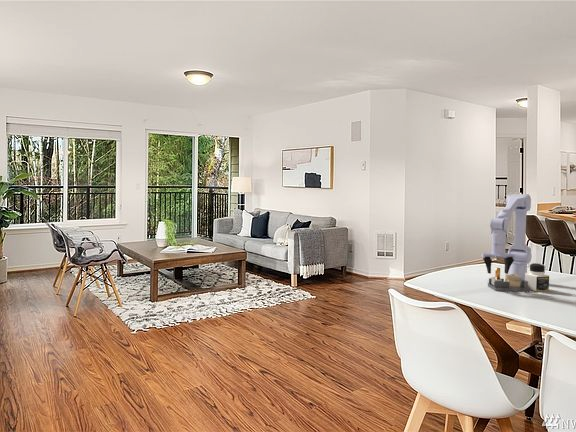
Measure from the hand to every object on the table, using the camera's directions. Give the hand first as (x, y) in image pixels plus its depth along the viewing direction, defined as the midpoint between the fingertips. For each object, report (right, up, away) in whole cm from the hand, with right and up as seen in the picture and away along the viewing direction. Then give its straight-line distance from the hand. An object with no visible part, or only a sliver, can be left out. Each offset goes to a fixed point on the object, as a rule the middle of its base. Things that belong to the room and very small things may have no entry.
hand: (497, 273), depth 207 cm
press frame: (+5, -7, +2) cm, 9 cm away
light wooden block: (+8, -6, +1) cm, 10 cm away
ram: (0, -6, +2) cm, 6 cm away
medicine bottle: (+18, -8, 0) cm, 20 cm away
